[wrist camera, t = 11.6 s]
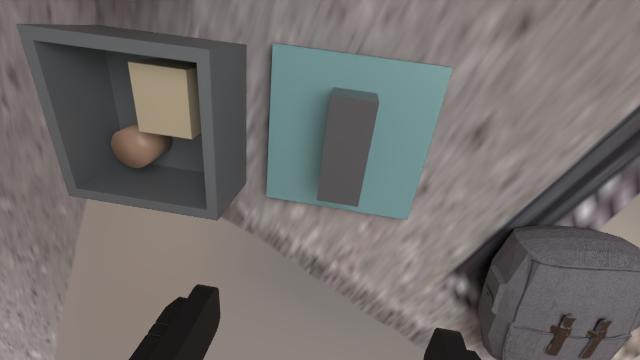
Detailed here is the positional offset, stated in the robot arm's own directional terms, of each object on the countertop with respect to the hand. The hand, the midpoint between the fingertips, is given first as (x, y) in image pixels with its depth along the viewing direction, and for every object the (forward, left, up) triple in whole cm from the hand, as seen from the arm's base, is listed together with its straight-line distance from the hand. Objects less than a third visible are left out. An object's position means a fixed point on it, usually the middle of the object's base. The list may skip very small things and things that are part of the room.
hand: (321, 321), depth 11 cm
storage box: (0, -18, -23) cm, 29 cm away
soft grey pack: (+16, +26, -24) cm, 39 cm away
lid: (0, 0, -22) cm, 22 cm away
